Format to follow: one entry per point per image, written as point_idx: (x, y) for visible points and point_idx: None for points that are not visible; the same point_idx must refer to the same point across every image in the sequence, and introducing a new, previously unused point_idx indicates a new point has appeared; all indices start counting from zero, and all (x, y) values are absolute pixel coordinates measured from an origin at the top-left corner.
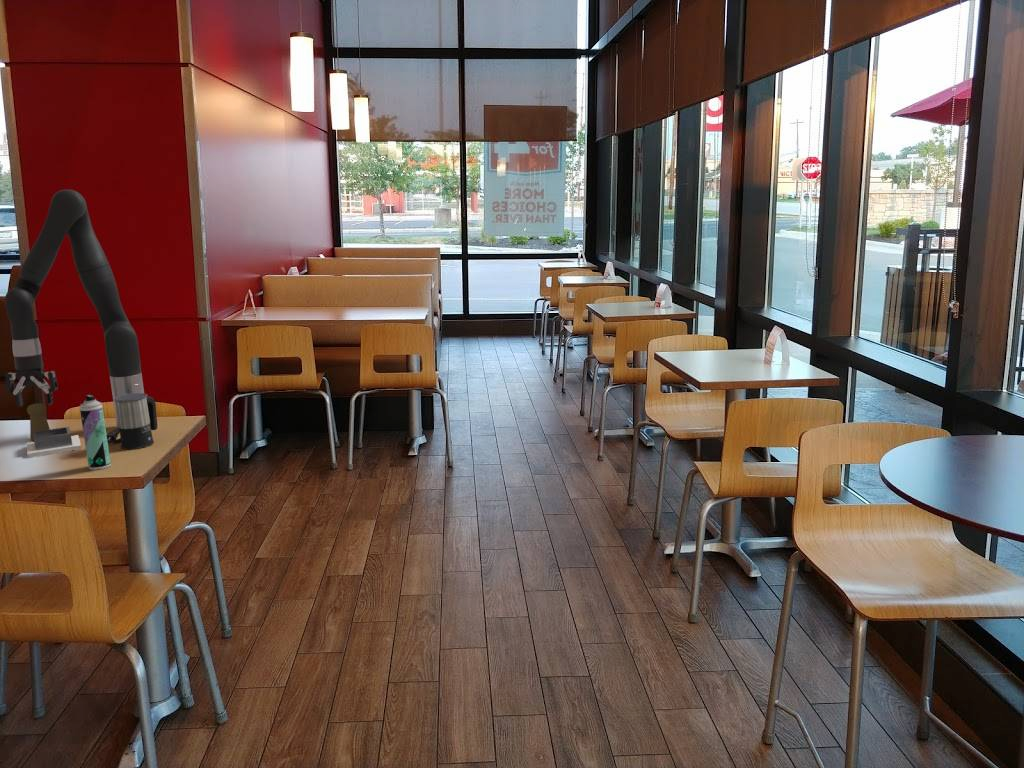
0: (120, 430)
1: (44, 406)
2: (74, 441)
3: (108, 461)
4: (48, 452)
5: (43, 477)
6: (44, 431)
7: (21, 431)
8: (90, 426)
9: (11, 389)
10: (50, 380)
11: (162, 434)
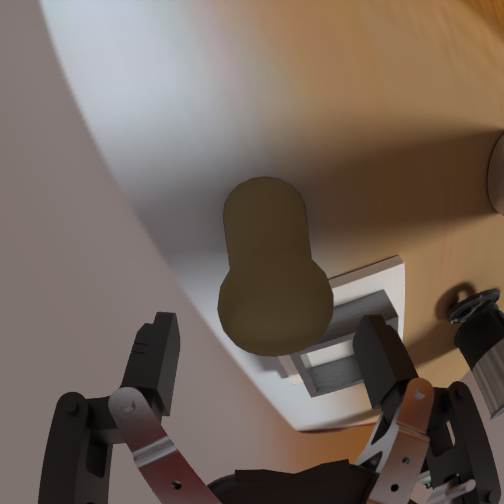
0: (470, 367)
1: (331, 318)
2: None
3: None
4: None
5: (339, 424)
6: (323, 345)
7: (111, 66)
8: None
9: (108, 444)
10: (439, 477)
11: None
